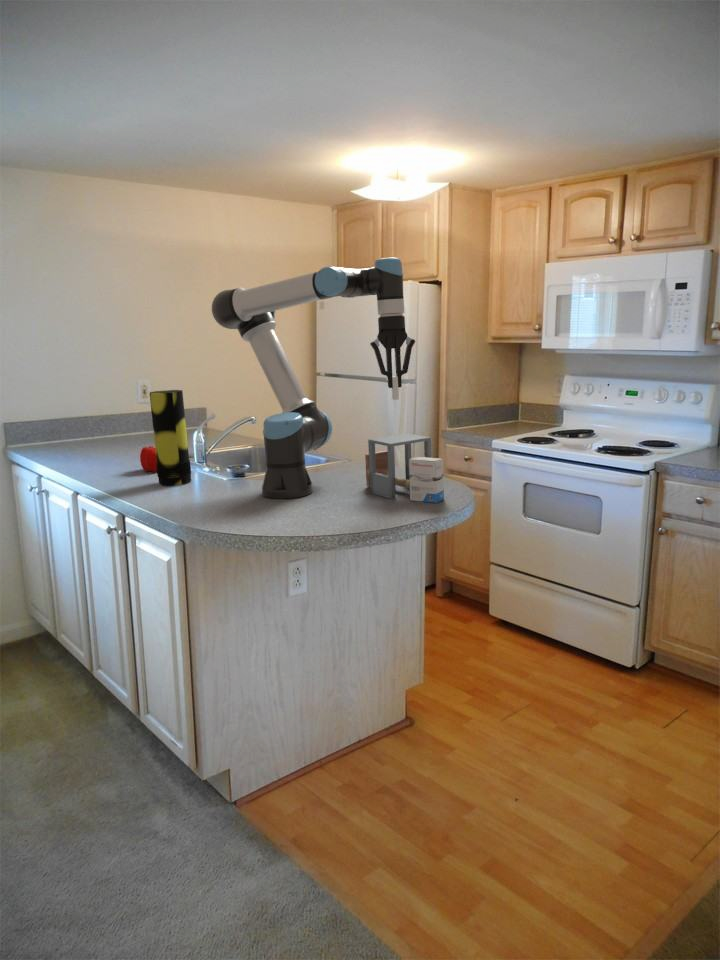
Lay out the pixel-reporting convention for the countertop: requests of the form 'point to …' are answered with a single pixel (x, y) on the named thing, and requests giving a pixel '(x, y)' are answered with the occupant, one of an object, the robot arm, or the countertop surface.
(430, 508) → the countertop surface
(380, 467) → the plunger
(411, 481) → the ink box
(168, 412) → the container
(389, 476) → the grey open frame holder
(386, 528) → the countertop surface
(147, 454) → the tomato
